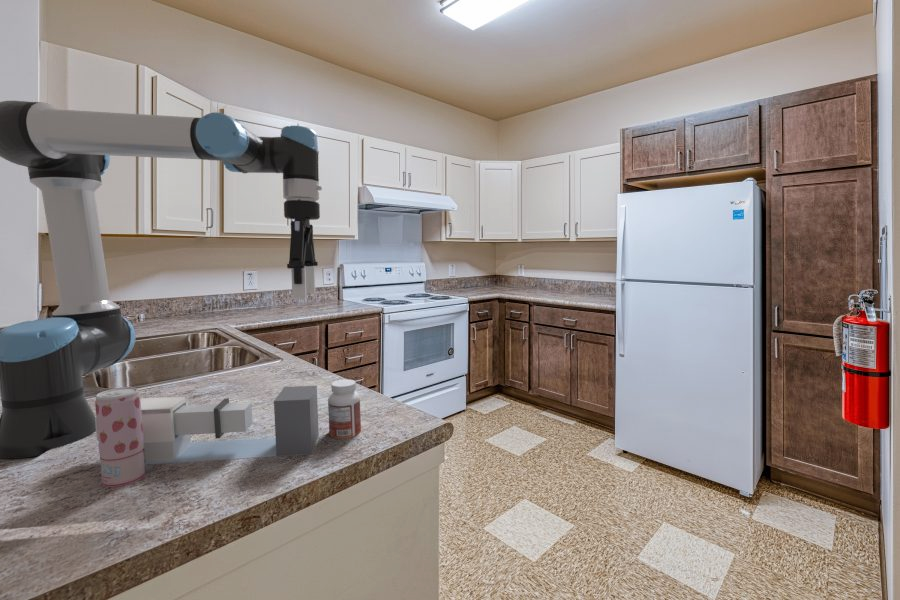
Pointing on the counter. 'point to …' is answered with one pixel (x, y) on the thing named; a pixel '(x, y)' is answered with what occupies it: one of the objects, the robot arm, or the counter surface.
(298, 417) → the socket
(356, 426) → the pill bottle
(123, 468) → the beverage can
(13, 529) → the counter surface
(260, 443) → the mounting board
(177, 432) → the tube
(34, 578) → the counter surface
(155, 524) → the counter surface
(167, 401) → the sleeve
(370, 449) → the counter surface
